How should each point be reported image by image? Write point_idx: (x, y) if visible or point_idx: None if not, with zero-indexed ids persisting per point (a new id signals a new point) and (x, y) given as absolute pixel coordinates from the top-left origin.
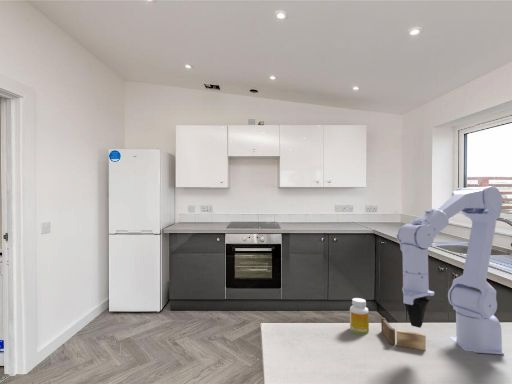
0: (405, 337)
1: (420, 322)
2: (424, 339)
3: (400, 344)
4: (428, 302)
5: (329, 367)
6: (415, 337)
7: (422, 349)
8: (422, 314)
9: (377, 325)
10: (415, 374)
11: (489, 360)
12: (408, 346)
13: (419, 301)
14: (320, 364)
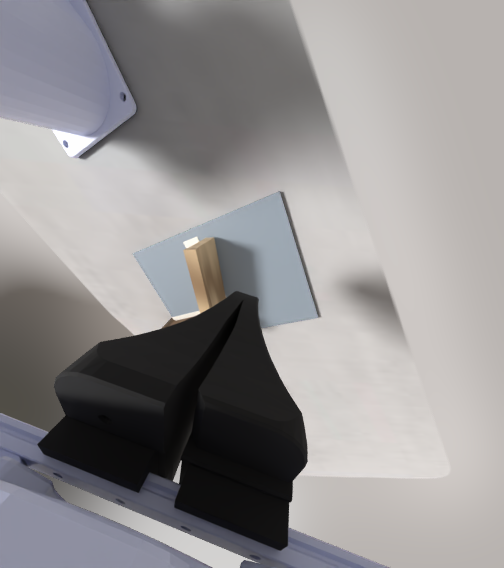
0: (213, 297)
1: (257, 311)
2: (200, 248)
3: (223, 297)
4: (131, 344)
5: (383, 413)
6: (205, 274)
7: (215, 245)
8: (260, 338)
9: (139, 330)
10: (355, 269)
11: (143, 14)
12: (221, 279)
13: (261, 468)
14: (376, 423)
